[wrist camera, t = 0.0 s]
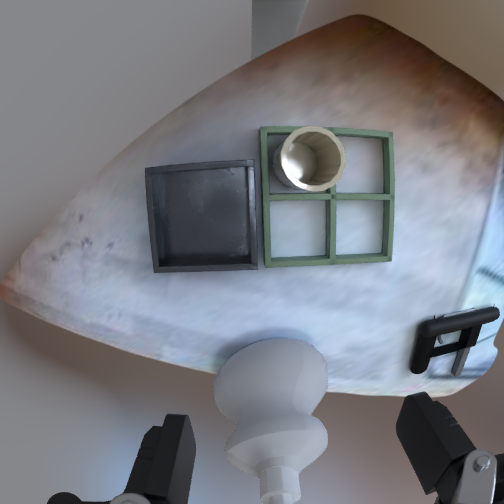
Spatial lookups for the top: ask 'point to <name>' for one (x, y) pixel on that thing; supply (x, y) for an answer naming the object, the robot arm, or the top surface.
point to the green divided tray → (331, 204)
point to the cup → (310, 159)
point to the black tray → (202, 216)
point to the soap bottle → (273, 413)
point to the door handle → (449, 323)
